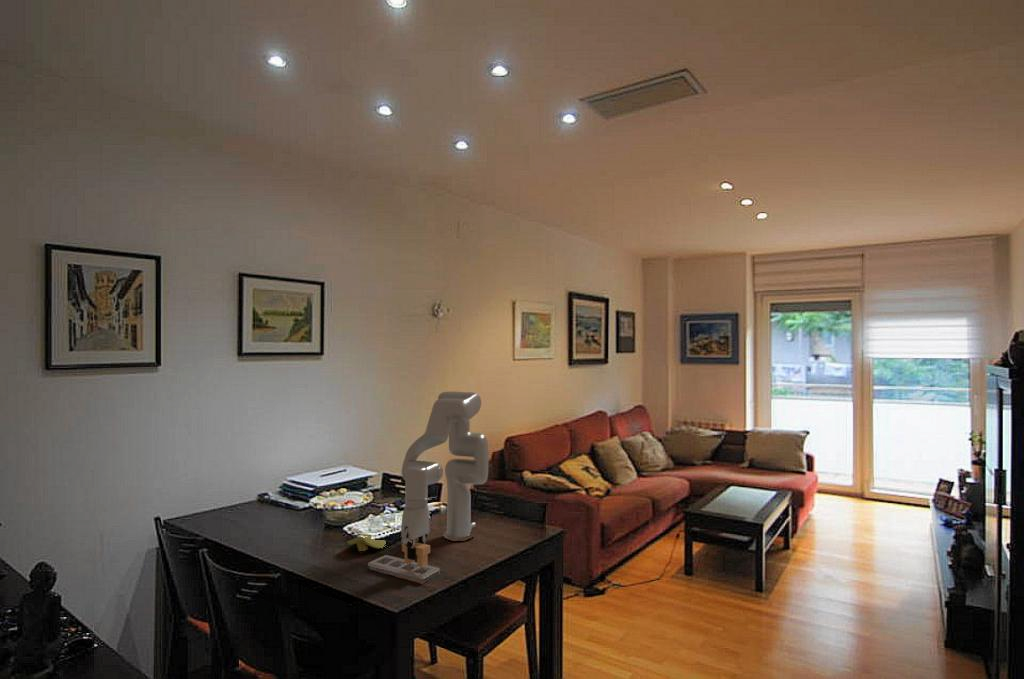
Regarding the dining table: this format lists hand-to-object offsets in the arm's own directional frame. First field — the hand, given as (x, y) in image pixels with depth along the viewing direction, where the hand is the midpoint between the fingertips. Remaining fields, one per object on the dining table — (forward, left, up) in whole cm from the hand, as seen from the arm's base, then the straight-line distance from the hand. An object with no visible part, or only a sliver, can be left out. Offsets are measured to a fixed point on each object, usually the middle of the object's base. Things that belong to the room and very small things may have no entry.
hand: (415, 556), depth 204 cm
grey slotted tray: (0, -6, -7) cm, 9 cm away
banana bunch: (-13, -33, -7) cm, 36 cm away
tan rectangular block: (0, 0, -2) cm, 2 cm away
